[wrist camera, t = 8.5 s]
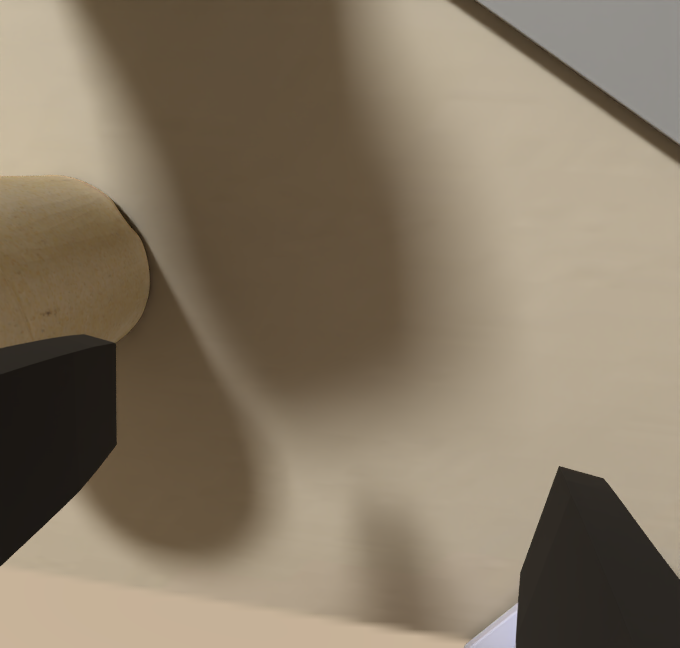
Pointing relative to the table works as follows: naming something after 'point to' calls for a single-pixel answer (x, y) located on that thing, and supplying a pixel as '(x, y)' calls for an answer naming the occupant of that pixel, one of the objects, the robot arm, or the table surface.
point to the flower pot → (66, 262)
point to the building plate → (611, 48)
